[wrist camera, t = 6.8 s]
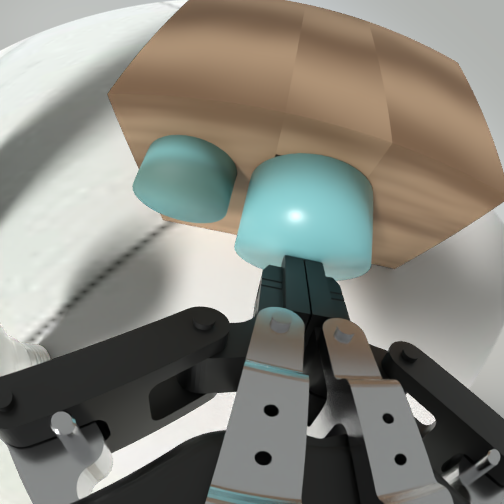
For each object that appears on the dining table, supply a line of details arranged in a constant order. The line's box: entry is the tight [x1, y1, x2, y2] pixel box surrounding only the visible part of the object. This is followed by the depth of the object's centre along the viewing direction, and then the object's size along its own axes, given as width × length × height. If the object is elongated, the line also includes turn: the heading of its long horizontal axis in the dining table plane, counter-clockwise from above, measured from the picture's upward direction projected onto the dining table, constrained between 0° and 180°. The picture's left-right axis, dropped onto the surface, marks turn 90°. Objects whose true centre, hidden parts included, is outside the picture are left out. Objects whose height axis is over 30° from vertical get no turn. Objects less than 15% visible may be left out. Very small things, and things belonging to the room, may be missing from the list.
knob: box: [234, 153, 373, 281], centre depth 13 cm, size 15×5×5 cm, turn 169°
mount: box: [107, 0, 504, 269], centre depth 15 cm, size 12×16×11 cm
